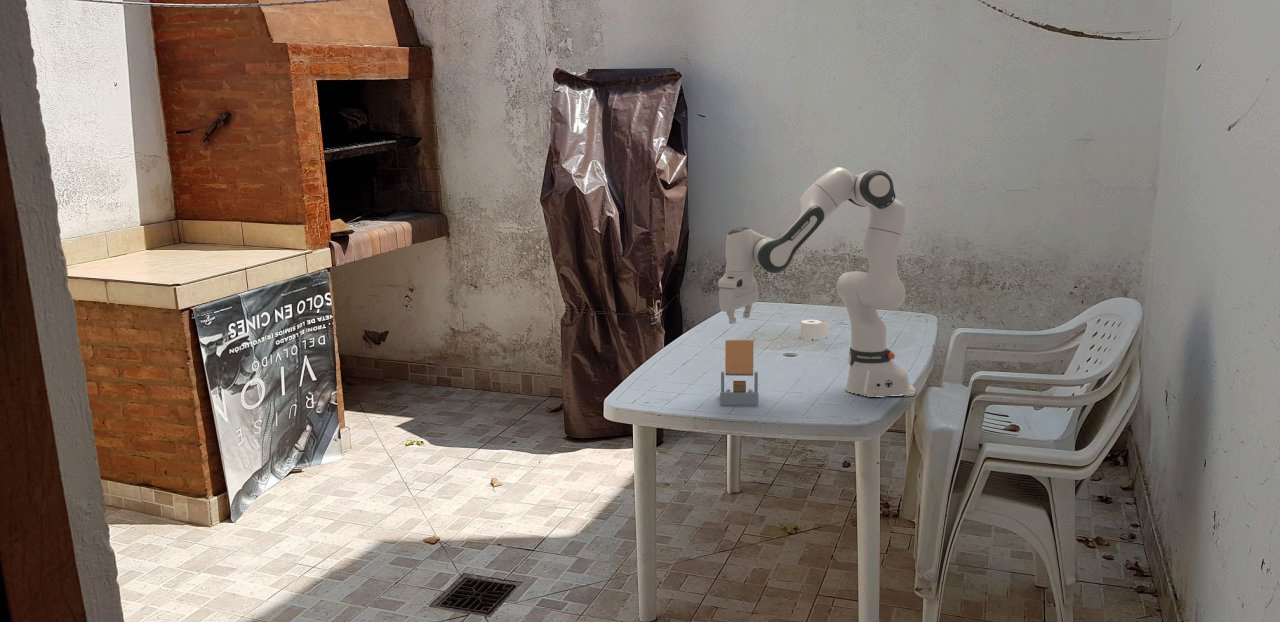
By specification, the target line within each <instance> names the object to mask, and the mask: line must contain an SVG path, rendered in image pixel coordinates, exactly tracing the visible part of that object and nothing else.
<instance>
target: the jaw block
mask: <svg viewBox="0 0 1280 622" xmlns="http://www.w3.org/2000/svg"><path fill="white" fill-rule="evenodd" d="M732 383H733V384H732V392H739V393H746V392H747V380H733V381H732Z"/></svg>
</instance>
